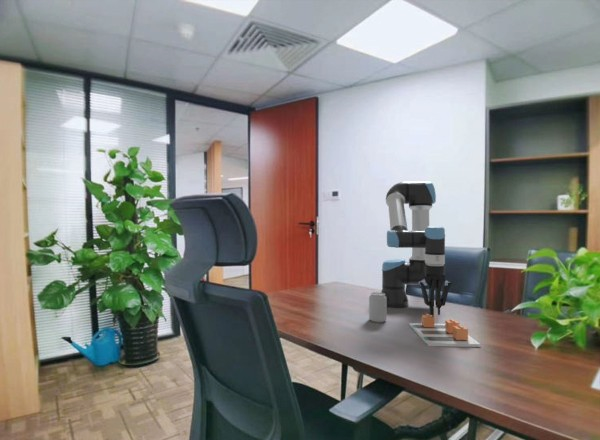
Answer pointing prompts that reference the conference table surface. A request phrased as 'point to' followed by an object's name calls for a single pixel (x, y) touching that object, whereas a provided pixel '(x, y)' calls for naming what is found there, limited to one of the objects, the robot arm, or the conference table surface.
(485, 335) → the conference table surface
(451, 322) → the tab
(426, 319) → the orange small block
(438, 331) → the panel
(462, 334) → the tab
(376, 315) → the can
